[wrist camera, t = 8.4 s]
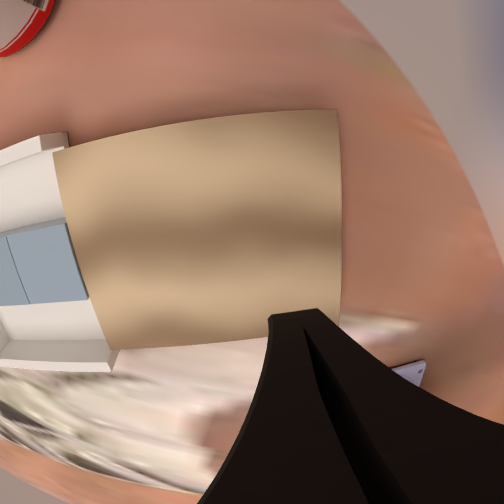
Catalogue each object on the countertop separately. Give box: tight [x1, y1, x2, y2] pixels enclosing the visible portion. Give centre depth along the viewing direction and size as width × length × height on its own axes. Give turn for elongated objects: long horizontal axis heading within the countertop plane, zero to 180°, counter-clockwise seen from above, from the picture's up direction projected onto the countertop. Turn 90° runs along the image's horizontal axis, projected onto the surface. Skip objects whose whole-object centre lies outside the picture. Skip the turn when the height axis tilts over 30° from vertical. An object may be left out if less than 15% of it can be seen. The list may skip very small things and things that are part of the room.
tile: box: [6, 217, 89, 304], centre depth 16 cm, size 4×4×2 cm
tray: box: [0, 131, 120, 372], centre depth 16 cm, size 14×11×3 cm
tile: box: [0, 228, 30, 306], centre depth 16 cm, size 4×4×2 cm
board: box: [52, 109, 342, 350], centre depth 16 cm, size 12×14×2 cm
